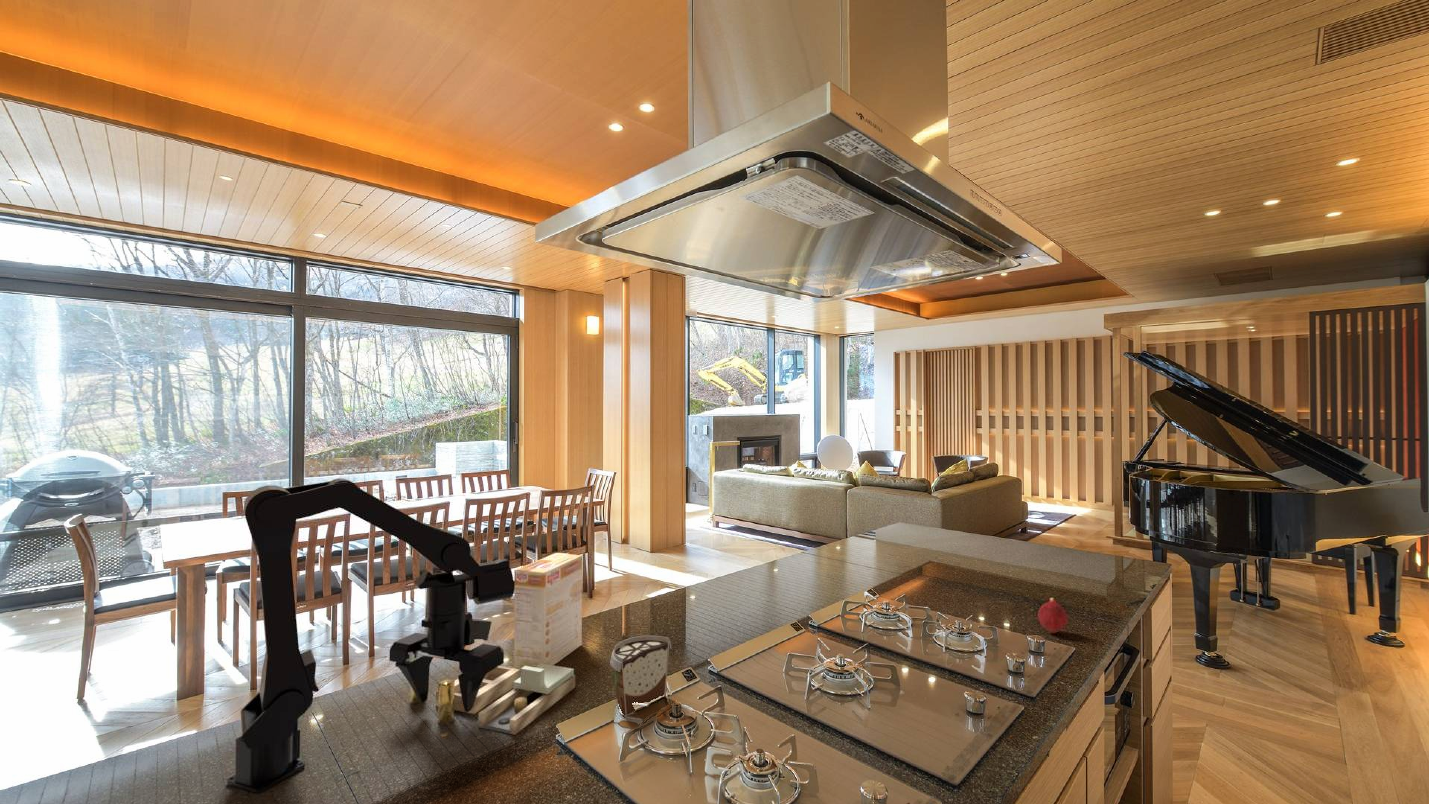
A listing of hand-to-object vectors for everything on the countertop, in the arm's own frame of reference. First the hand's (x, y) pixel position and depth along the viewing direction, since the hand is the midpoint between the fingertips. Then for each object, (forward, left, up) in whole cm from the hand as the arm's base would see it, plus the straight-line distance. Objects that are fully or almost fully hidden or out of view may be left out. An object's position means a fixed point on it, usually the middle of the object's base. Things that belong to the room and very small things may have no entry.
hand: (445, 706), depth 96 cm
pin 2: (0, 0, -2) cm, 2 cm away
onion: (+77, -102, -2) cm, 128 cm away
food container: (+16, -26, -2) cm, 31 cm away
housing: (+9, -10, -2) cm, 13 cm away
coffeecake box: (+27, -1, -2) cm, 27 cm away
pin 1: (+4, +10, -2) cm, 10 cm away
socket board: (+9, +1, -2) cm, 9 cm away
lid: (+13, -10, 0) cm, 16 cm away
